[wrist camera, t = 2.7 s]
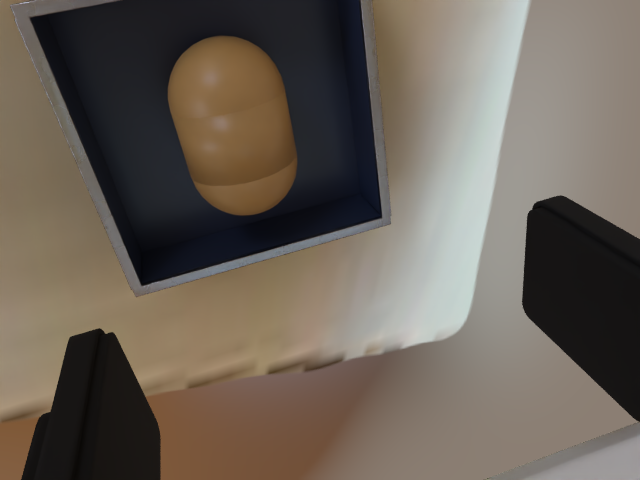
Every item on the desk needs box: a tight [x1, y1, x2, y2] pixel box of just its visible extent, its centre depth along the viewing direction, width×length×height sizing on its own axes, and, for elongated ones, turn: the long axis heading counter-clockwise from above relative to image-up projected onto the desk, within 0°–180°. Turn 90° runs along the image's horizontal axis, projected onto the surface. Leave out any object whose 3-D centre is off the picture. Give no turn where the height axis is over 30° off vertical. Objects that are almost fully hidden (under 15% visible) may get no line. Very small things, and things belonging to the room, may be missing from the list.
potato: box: [168, 36, 297, 216], centre depth 23 cm, size 5×8×5 cm, turn 9°
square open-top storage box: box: [10, 0, 391, 297], centre depth 24 cm, size 13×13×4 cm
